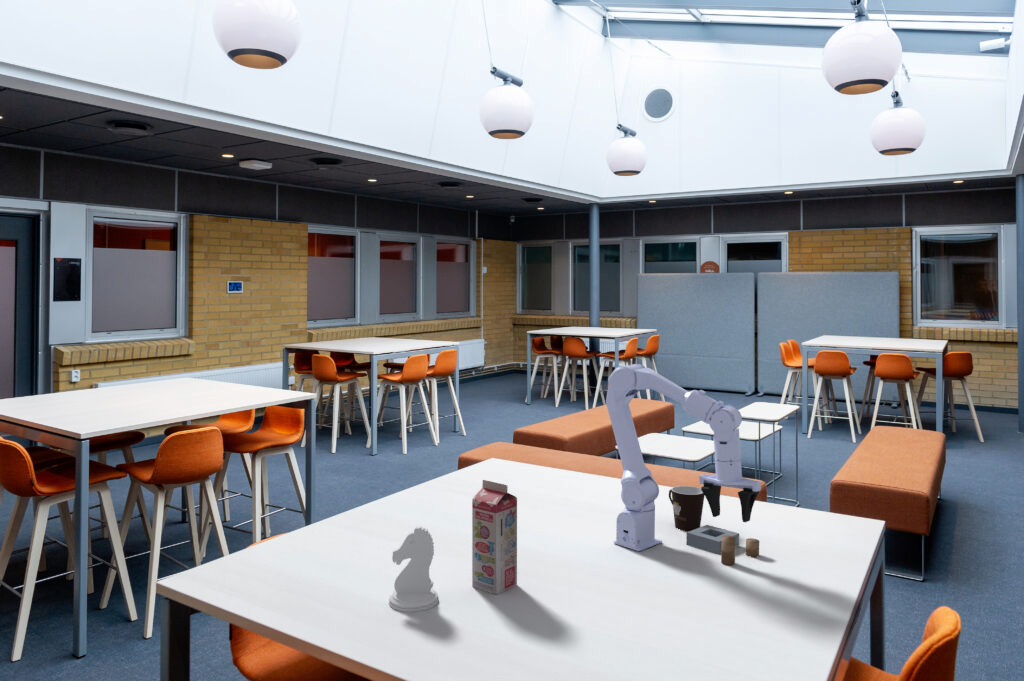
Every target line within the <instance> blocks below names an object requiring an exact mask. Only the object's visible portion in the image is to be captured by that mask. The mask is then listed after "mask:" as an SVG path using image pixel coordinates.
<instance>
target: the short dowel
mask: <svg viewBox="0 0 1024 681" xmlns="http://www.w3.org/2000/svg"><path fill="white" fill-rule="evenodd" d="M745 556H747V557H749V556H751V557H750V558H758V557H757V556H760V540H759V539H757V538H752V537H749V538H746V540H745Z"/></svg>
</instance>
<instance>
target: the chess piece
mask: <svg viewBox="0 0 1024 681" xmlns="http://www.w3.org/2000/svg"><path fill="white" fill-rule="evenodd" d="M434 544H435V543H434V540H433V538H432V534H431V533H430V531H429V530H428V528H426V527H422V526H415V527H414V530H413V531H411V532H409V533H408V534H407V535H406V537H405V539H404V540H403V542H402V543H401V545H400V546H399V548H397V549H394V550H393V551H392V562H393V563H394V564H395V563H396V565H397V566H400V565H401V564H402V562H403V561H404V560H407V559H409V561H408V562H407V563H406V565H405V566H404V567H403V568H402V570H401V571H400V572H399V573H398V575H397V576H396V578H395V580H394V583H393V584H394V590H393V591H392V592H391V594H390V595H389V597H388V605H389V607H390V608H391V609H394V610H396V611H399V612H404V613H405V612H406V613H415V612H422V611H427V610H428V609H432V608H434V607H435V606H437V604H438V602H439V596H438V593H437V591H436V590H435V589H434V588H433V587H434V581H432V579H431V577H430V566H431V565H432V562H433V557H434V555H435V549H434V548H435V547H434Z"/></svg>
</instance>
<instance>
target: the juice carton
mask: <svg viewBox="0 0 1024 681" xmlns="http://www.w3.org/2000/svg"><path fill="white" fill-rule="evenodd" d="M508 488H509V487H508V485H507V484H504V483H499V482H495V481H492V480H491V481H490V480H485V479H482V486H481V488H480V490H478V492H476V494H475V495H474V496H473V497H472V498H471V499H472V506H471V507H472V508H471V509H472V512H471V513H472V515H471V520H472V521H471V523H472V526H471V527H472V528H471V529H472V530H471V534H472V535H471V536H472V537H471V540H472V541H471V542H472V543H471V544H472V545H471V546H472V547H471V548H472V550H471V552H472V553H471V554H472V558H471V559H472V561H471V562H472V563H471V564H472V567H471V568H472V569H471V570H472V571H471V572H472V574H471V576H472V577H471V580H472V581H471V582H472V584H471V585H472V588H475V589H477V590H481V591H484V592H486V593H490V594H492V595H496V596H497V595H499V594H502V593H503V592H505V591H508V590H509V589H511V588H514V587H516V586H517V585H518V497H517V496H516V495H513V494H511V493H509V492H508Z"/></svg>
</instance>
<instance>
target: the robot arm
mask: <svg viewBox="0 0 1024 681" xmlns="http://www.w3.org/2000/svg"><path fill="white" fill-rule="evenodd" d="M607 382H608V386H607V388H608V389H607V393H606V398H605V403H606V408H607V412H608V416H609V420H610V423H611V424H610V425H611V427H612V431H613V435H614V438H615V443H616V447H617V451H618V453H619V457H620V461H621V466H622V469H623V473H622V476H621V480H620V484H621V492H620V493H621V495H620V497H621V501H622V503H623V504H624V507H625V508H624V510H623V511H621V512H619V514H618V515H617V517H616V531H615V532H616V537H615V538H616V540H614V541H613V544H615V545H618V546H622V547H625V548H629V549H631V550H634V551H637V552H641V551H643V550H646V549H648V548H651V547H654V546H656V545H659V544H661V543H662V542H663V540H661V539H658V538H655V536H656V535H655V534H656V527H655V526H656V525H655V524H656V504H655V500H656V499H657V498H658V496H659V495H660V489H659V488H660V487H659V485H658V482H657V481H656V480H655V479H654V476H653V475H652V471H651V470H650V469H649V468H648V466H646V464H645V461H644V457H643V453H642V449H641V447H640V442H639V441H640V440H639V437H638V435H637V431H636V426H635V423H634V420H633V415H632V412H631V408H630V403H631V401H632V400H633V399H634V397H635V395H636V394H637V393H638V392H639V391H641V390H652V391H655V392H657V393H659V394H661V395H664V396H665V397H667V398H669V399H671V400H673V401H676V402H677V403H679V404H680V405H681V407H682V410H683V411H684V412H685V413H687V414H689V415H691V416H693V417H694V418H696V419H698V420H700V421H702V422H703V423H705V424H706V425H709V427H710V429H711V430H712V432H713V446H714V447H713V448H714V449H713V450H714V463H715V464H714V466H715V467H714V468H715V474H704V473H703V474H701V475H698V479H699V480H698V481H699V484H700V485H703V486H701V487H700V488H701V491H702V492H703V494H704V498H705V499H706V500H707V502H708V505H709V508H710V511H711V514H712V517H714V518H716V517H718V516H720V515H721V490H722V487H727V488H731V489H733V488H734V489H741V490H740V491H737V495H738V498H739V502H740V507H741V520H742V522H743V523H748V522H750V521H751V515H752V511H753V507H754V504H755V503H756V502H755V501H756V500H757V497H758V495H759V494H760V491H762V484H761V481H759V480H758V481H757V480H754V479H749V478H745V477H743V474H742V473H743V472H742V454H741V452H742V451H741V439H740V428H739V427H740V426H741V424H742V421H743V417H742V413H741V412H740V411H739V409H738V408H736V407H735V406H734V405H731V404H727V405H726V404H724V401H722V400H719V401H717V400H715V398H712V397H710V396H708V395H706V394H707V393H706V391H704V390H703V389H699V390H697V389H693V390H691V391H688V390H686V389H684V388H683V387H682V386H680V385H678V384H677V383H675V382H673V381H672V380H670V379H669V378H667V377H664V376H663V375H661V374H660V373H658V372H657V371H655V370H653V369H652V368H650V367H645V366H644V365H642V364H640V363H633V364H628V365H620V366H618V367H616V368H614V370H613V371H612V372H611V374H609V376H608V378H607Z"/></svg>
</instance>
